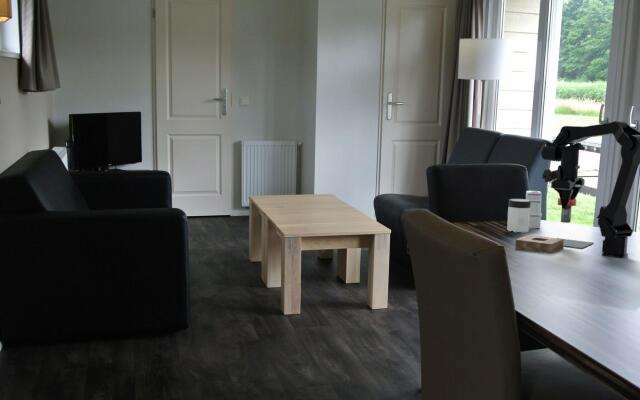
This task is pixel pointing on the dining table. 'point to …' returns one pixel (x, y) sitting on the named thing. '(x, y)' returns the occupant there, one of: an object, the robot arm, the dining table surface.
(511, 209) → the jar
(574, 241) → the mat
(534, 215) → the syrup box
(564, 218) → the no entry disc
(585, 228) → the dining table surface
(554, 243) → the eye block
